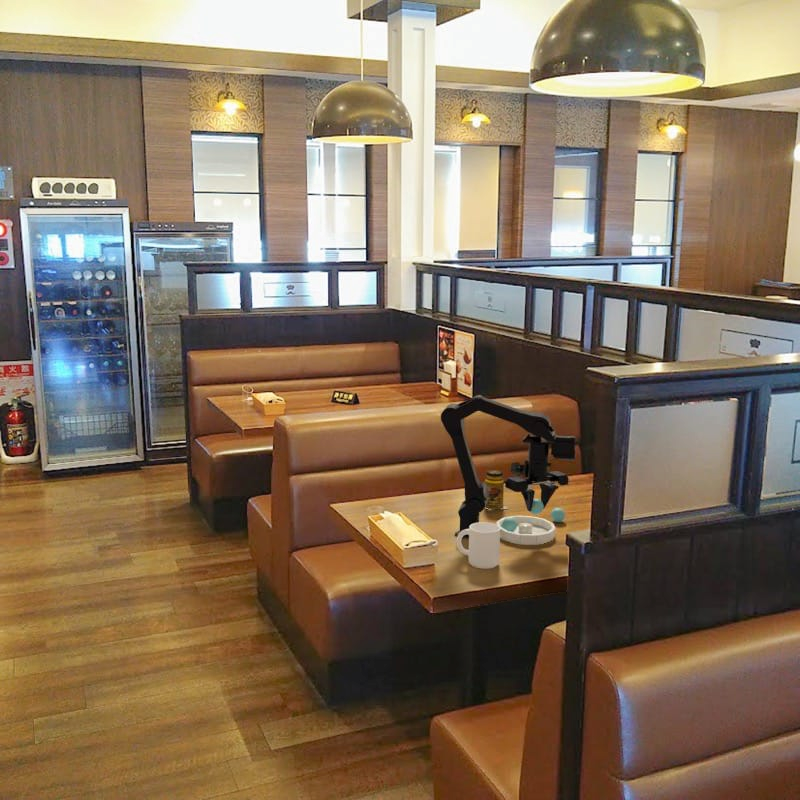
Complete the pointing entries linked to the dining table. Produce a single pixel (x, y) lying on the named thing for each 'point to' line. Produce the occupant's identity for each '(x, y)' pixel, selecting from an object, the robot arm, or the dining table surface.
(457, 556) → the dining table surface
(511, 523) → the bead
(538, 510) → the bead
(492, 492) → the condiment
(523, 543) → the groove tray
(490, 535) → the mug
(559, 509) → the bead
